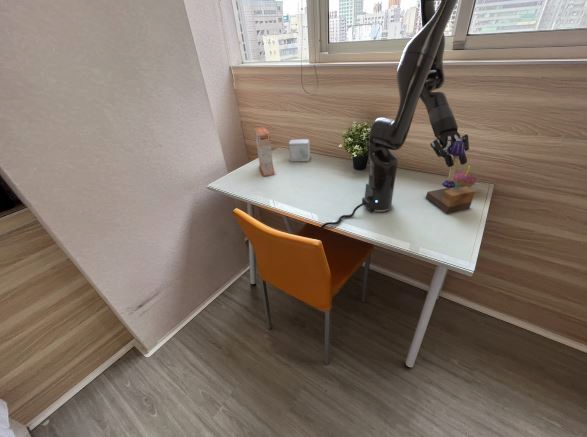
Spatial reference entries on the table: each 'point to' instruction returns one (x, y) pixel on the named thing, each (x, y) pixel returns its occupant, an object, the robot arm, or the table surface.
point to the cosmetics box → (299, 150)
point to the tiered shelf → (443, 207)
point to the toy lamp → (456, 152)
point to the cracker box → (264, 151)
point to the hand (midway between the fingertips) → (457, 164)
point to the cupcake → (464, 179)
